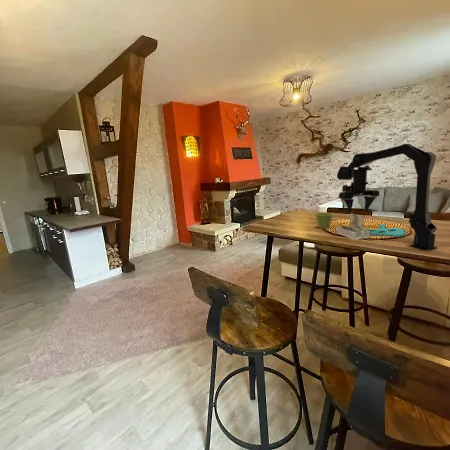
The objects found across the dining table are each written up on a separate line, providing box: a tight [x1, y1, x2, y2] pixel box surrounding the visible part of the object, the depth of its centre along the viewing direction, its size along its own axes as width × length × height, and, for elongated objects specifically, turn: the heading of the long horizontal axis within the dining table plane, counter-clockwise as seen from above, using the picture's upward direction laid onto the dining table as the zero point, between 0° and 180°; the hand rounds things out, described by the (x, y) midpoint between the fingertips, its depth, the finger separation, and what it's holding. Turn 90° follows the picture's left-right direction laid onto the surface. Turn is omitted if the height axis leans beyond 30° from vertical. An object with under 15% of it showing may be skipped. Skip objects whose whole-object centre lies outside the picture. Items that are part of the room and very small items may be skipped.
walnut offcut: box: [340, 225, 351, 231], centre depth 131 cm, size 6×1×4 cm, turn 11°
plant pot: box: [315, 212, 334, 229], centre depth 148 cm, size 9×9×9 cm
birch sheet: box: [349, 213, 366, 232], centre depth 130 cm, size 9×1×10 cm, turn 11°
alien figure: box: [364, 223, 407, 238], centre depth 133 cm, size 20×2×20 cm
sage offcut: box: [350, 227, 360, 237], centre depth 128 cm, size 6×1×4 cm, turn 11°
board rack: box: [334, 224, 371, 240], centre depth 130 cm, size 14×10×4 cm
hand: (357, 211), depth 128 cm, fingers open, 9 cm apart
